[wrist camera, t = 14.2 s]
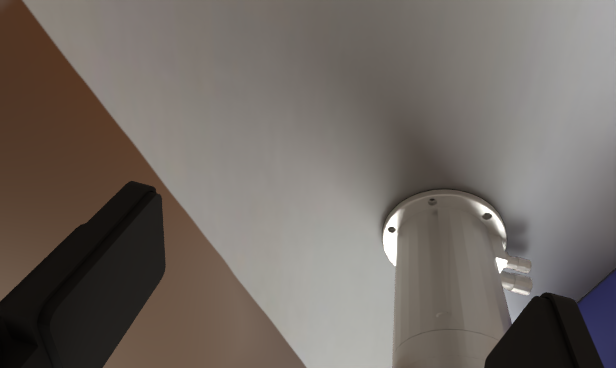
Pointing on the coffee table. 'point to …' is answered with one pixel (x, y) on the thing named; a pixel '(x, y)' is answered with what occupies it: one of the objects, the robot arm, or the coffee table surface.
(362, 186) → the coffee table surface
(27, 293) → the robot arm
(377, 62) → the coffee table surface
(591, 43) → the coffee table surface
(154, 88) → the coffee table surface
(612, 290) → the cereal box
